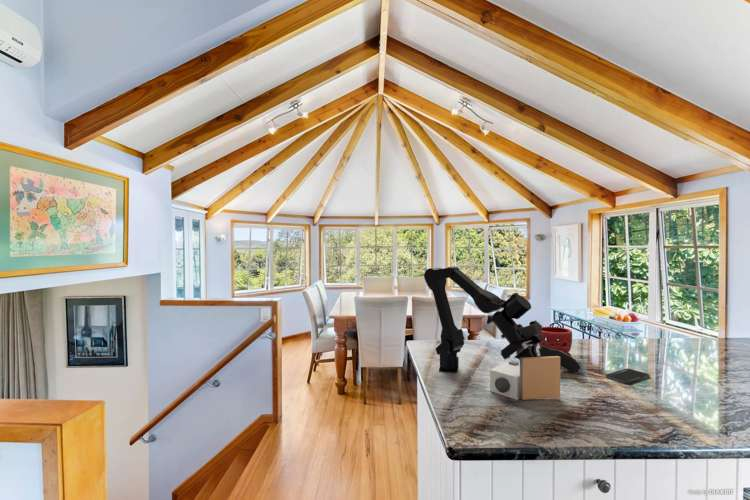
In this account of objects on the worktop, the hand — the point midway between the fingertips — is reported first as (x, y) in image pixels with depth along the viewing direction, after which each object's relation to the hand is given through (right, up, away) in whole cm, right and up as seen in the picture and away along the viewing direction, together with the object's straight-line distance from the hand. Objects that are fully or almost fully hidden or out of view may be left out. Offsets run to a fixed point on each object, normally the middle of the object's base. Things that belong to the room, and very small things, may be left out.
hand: (541, 369), depth 110 cm
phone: (+39, -9, +17) cm, 43 cm away
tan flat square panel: (-1, -8, -1) cm, 8 cm away
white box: (-6, -9, +7) cm, 13 cm away
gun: (+18, -9, +24) cm, 31 cm away
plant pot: (+24, -8, +40) cm, 47 cm away
